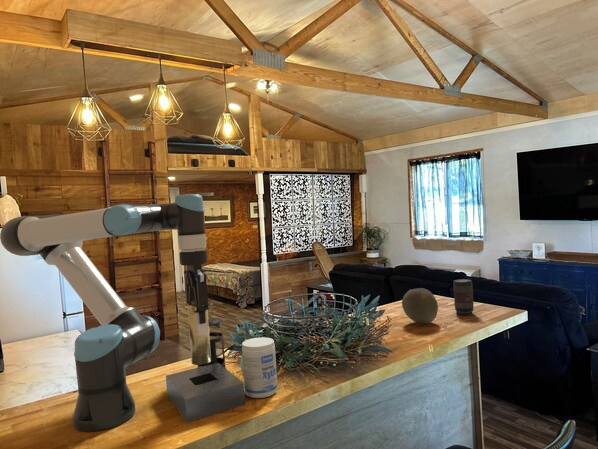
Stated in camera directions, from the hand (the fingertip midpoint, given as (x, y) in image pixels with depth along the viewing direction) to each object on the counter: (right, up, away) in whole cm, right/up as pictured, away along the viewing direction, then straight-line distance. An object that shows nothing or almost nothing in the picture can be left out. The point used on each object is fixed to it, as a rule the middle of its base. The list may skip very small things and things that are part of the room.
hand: (199, 332), depth 121 cm
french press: (-1, -19, +22) cm, 29 cm away
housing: (+1, -19, +1) cm, 19 cm away
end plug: (+1, -8, 0) cm, 8 cm away
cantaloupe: (+79, -12, +61) cm, 101 cm away
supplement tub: (+17, -18, +3) cm, 25 cm away
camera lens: (+102, -10, +72) cm, 125 cm away
